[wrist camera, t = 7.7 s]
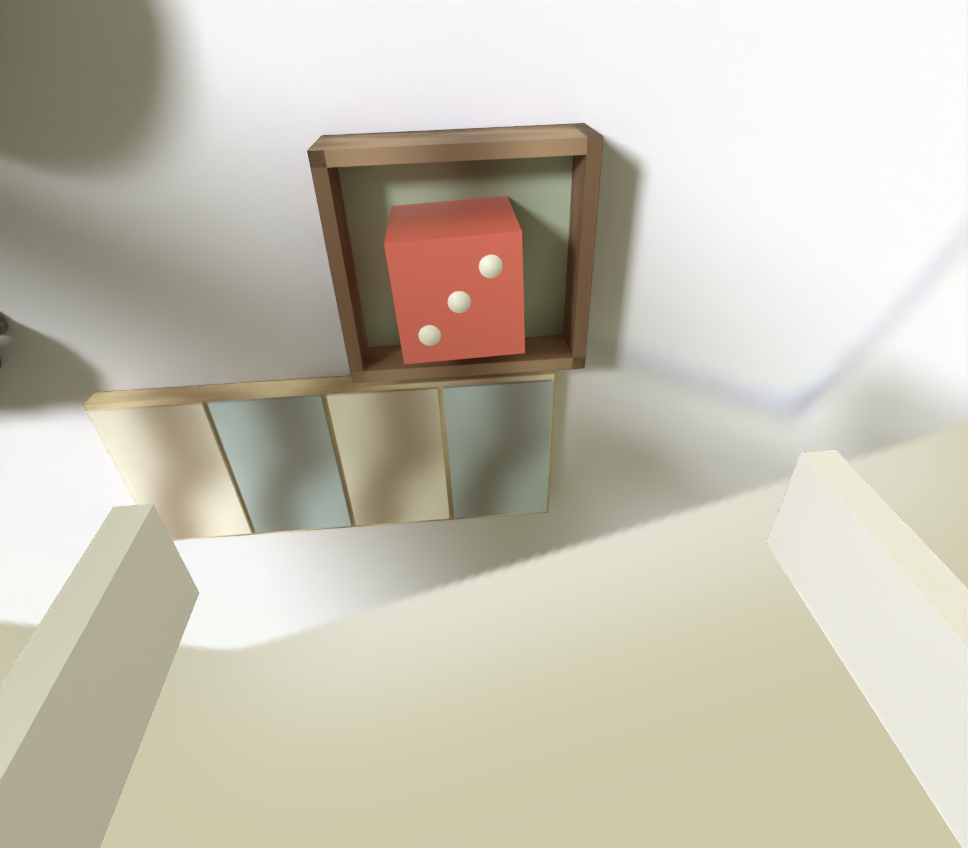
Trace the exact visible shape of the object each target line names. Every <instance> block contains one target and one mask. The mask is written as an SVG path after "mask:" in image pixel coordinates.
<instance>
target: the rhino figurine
mask: <svg viewBox="0 0 968 848" xmlns="http://www.w3.org/2000/svg"><path fill="white" fill-rule="evenodd" d="M6 329H7V322H6V321H5V320H4V319H3V318H2V317H1V316H0V333H2V332H5V330H6ZM0 367H1V363H0Z"/></svg>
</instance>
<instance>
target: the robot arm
mask: <svg viewBox="0 0 968 848" xmlns="http://www.w3.org/2000/svg"><path fill="white" fill-rule="evenodd" d="M767 545H768V547H769V548H770V550H771V552H772V553H773V554H774V556H775V558H776V559H777V561H778V562H779V564H780V566H781V567H782V568H783V570H784V572H785V573H786V575H787V576H788V578H789V579H790V581H791V583H792V584H793V586H794V587H795V589H796V590H797V592H798V593H799V595H800V596H801V598H802V600H803V601H804V603H805V604H806V605H807V607H808V609H809V611H810V612H811V614H812V615H813V617H814V618H815V620H816V621H817V623H818V625H819V626H820V628H821V629H822V631H823V632H824V634H825V635H826V637H827V639H828V640H829V642H830V643H831V645H832V646H833V648H834V649H835V651H836V652H837V654H838V656H839V657H840V659H841V660H842V662H843V663H844V665H845V667H846V668H847V669H848V671H849V673H850V674H851V675H852V677H853V679H854V680H855V682H856V684H857V685H858V687H859V688H860V690H861V691H862V693H863V695H864V696H865V698H866V699H867V701H868V702H869V704H870V705H871V707H872V709H873V710H874V711H875V713H876V715H877V716H878V718H879V719H880V721H881V723H882V724H883V726H884V727H885V729H886V730H887V732H888V733H889V735H890V737H891V738H892V740H893V741H894V743H895V744H896V746H897V747H898V749H899V751H900V752H901V754H902V755H903V757H904V758H905V760H906V761H907V763H908V764H909V766H910V768H911V769H912V771H913V772H914V774H915V775H916V777H917V779H918V780H919V782H920V783H921V785H922V786H923V788H924V789H925V791H926V793H927V794H928V796H929V797H930V799H931V800H932V802H933V803H934V805H935V806H936V808H937V810H938V811H939V813H940V814H941V816H942V817H943V819H944V820H945V822H946V824H947V825H948V827H949V828H950V830H951V831H952V833H953V834H954V836H955V838H956V839H957V841H958V842H959V843H960V845H961V847H962V848H968V589H967V588H966V587H965V586H964V585H963V584H962V582H961V581H960V580H959V579H958V578H957V577H956V576H955V575H954V574H953V573H952V572H951V571H950V570H949V569H948V568H947V567H946V565H945V564H944V563H943V562H942V561H941V560H940V559H939V558H938V557H937V556H936V555H935V554H934V553H933V552H932V551H931V550H930V548H929V547H928V546H927V545H926V544H925V543H924V542H923V541H922V540H921V539H920V538H919V537H918V536H917V535H916V534H915V533H914V532H913V530H912V529H911V528H910V527H909V526H908V525H907V524H906V523H905V522H904V521H903V520H902V519H901V518H900V517H899V516H898V515H897V514H896V512H895V511H894V510H893V509H892V508H891V507H890V506H889V505H888V504H887V503H886V502H885V501H884V500H883V499H882V498H881V497H880V495H879V494H878V493H877V492H876V491H875V490H874V489H873V488H872V487H871V486H870V485H869V484H868V483H867V482H866V481H865V480H864V478H863V477H862V476H861V475H860V474H859V473H858V472H857V471H856V470H855V469H854V468H853V467H852V466H851V465H850V464H849V462H848V461H847V460H846V459H845V458H844V457H843V456H842V455H841V454H840V453H839V452H838V451H837V450H825V451H813V452H801V453H800V456H799V458H798V461H797V464H796V466H795V469H794V472H793V474H792V477H791V480H790V482H789V485H788V487H787V490H786V493H785V495H784V498H783V501H782V504H781V506H780V509H779V511H778V514H777V516H776V519H775V522H774V524H773V527H772V530H771V532H770V535H769V538H768V540H767ZM198 594H199V592H198V590H197V588H196V586H195V584H194V582H193V580H192V578H191V576H190V574H189V572H188V570H187V568H186V566H185V564H184V562H183V560H182V559H181V557H180V555H179V553H178V551H177V549H176V547H175V545H174V543H173V541H172V539H171V537H170V535H169V533H168V531H167V529H166V527H165V525H164V523H163V521H162V520H161V518H160V516H159V514H158V512H157V510H156V508H155V506H154V504H145V505H132V506H120V507H113V508H112V510H111V512H110V513H109V515H108V516H107V518H106V519H105V521H104V523H103V524H102V526H101V527H100V529H99V531H98V532H97V534H96V535H95V537H94V538H93V540H92V542H91V543H90V545H89V546H88V548H87V550H86V551H85V553H84V554H83V556H82V557H81V559H80V561H79V562H78V564H77V565H76V567H75V569H74V570H73V572H72V573H71V575H70V576H69V578H68V580H67V581H66V583H65V584H64V586H63V588H62V589H61V591H60V592H59V594H58V595H57V597H56V599H55V600H54V602H53V603H52V605H51V607H50V608H49V610H48V611H47V613H46V614H45V616H44V618H43V619H42V621H41V622H40V624H39V626H38V627H37V629H36V630H35V632H34V634H33V635H32V637H31V638H30V640H29V642H28V643H27V645H26V646H25V648H24V650H23V651H22V653H21V654H20V656H19V657H18V659H17V660H16V662H15V664H14V665H13V667H12V669H11V670H10V672H9V673H8V675H7V676H6V678H5V679H4V681H3V683H2V684H1V686H0V848H100V846H101V843H102V841H103V838H104V836H105V833H106V830H107V828H108V825H109V823H110V820H111V818H112V815H113V813H114V810H115V807H116V805H117V802H118V800H119V797H120V794H121V792H122V789H123V787H124V784H125V782H126V779H127V777H128V774H129V771H130V769H131V766H132V764H133V761H134V759H135V756H136V753H137V751H138V748H139V746H140V743H141V740H142V738H143V736H144V733H145V730H146V728H147V725H148V723H149V720H150V718H151V715H152V712H153V710H154V707H155V705H156V702H157V700H158V697H159V694H160V692H161V689H162V687H163V684H164V682H165V679H166V677H167V674H168V671H169V669H170V666H171V664H172V661H173V659H174V656H175V653H176V651H177V648H178V646H179V643H180V641H181V638H182V636H183V633H184V630H185V628H186V625H187V623H188V620H189V618H190V615H191V612H192V610H193V607H194V605H195V602H196V600H197V597H198Z"/></svg>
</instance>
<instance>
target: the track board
mask: <svg viewBox="0 0 968 848" xmlns="http://www.w3.org/2000/svg"><path fill="white" fill-rule="evenodd" d="M554 378H555V374H554V371H553V370H549V371H533V372H518V373H503V374H488V375H472V376H457V377H442V378H426V379H411V380H396V381H380V382H365V383H352V378H351V376H340V377H325V378H309V379H294V380H278V381H263V382H247V383H232V384H216V385H201V386H185V387H170V388H154V389H139V390H124V391H108V392H94V393H93V395H92V396H91V397H90V398H89V399H88V400H87V401H86V402H85V403H84V405H83V406H84V408H85V410H86V412H87V413H88V415H89V417H90V419H91V421H92V423H93V425H94V427H95V428H96V430H97V432H98V434H99V436H100V438H101V440H102V442H103V443H104V445H105V447H106V449H107V451H108V453H109V455H110V457H111V458H112V460H113V462H114V464H115V466H116V468H117V470H118V472H119V473H120V475H121V477H122V479H123V481H124V483H125V485H126V487H127V488H128V490H129V492H130V494H131V496H132V498H133V500H134V502H135V503H136V505H145V504H154V506H155V508H156V510H157V512H158V514H159V516H160V518H161V520H162V521H163V523H164V525H165V527H166V529H167V531H168V533H169V535H170V537H171V539H172V541H175V540H188V539H201V538H214V537H228V536H241V535H254V534H267V533H280V532H294V531H307V530H320V529H333V528H346V527H360V526H373V525H386V524H399V523H413V522H426V521H439V520H452V519H465V518H479V517H492V516H505V515H518V514H532V513H545V512H548V504H549V483H550V462H551V441H552V420H553V399H554Z"/></svg>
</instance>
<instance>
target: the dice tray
mask: <svg viewBox="0 0 968 848" xmlns="http://www.w3.org/2000/svg"><path fill="white" fill-rule="evenodd" d="M602 148H603V136H602V135H601V134H599V133H598V132H596V131H595V130H593V129H592V128H591V127H589V126H588V125H586V124H585V123H577V124H556V125H535V126H514V127H492V128H471V129H450V130H429V131H407V132H386V133H365V134H344V135H323V136H321V137H320V138H319V139H318V140H317V141H316V142H315V143H314V144H313V145H312V146H311V147H310V148H309V149H308V151H307V152H308V157H309V162H310V167H311V173H312V178H313V183H314V188H315V193H316V198H317V203H318V208H319V214H320V219H321V224H322V229H323V234H324V239H325V244H326V249H327V255H328V260H329V265H330V270H331V275H332V280H333V285H334V291H335V296H336V301H337V306H338V311H339V316H340V321H341V326H342V332H343V337H344V342H345V347H346V352H347V357H348V362H349V367H350V373H351V378H352V383H365V382H380V381H396V380H411V379H426V378H442V377H457V376H472V375H488V374H503V373H518V372H533V371H549V370H564V369H579V368H584V367H585V355H586V343H587V331H588V318H589V306H590V294H591V282H592V270H593V258H594V246H595V233H596V221H597V209H598V197H599V185H600V173H601V161H602ZM501 196H507V197H508V199H509V201H510V204H511V206H512V208H513V211H514V213H515V216H516V218H517V220H518V223H519V225H520V228H521V230H522V250H523V290H524V330H525V353H522V354H511V355H500V356H489V357H479V358H468V359H457V360H446V361H436V362H425V363H414V364H404V360H403V354H402V348H401V342H400V336H399V330H398V325H397V319H396V313H395V307H394V301H393V295H392V289H391V283H390V277H389V271H388V265H387V259H386V253H385V247H384V241H385V236H386V231H387V227H388V222H389V217H390V212H391V208H392V206H397V205H409V204H420V203H432V202H443V201H455V200H466V199H478V198H489V197H501Z"/></svg>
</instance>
